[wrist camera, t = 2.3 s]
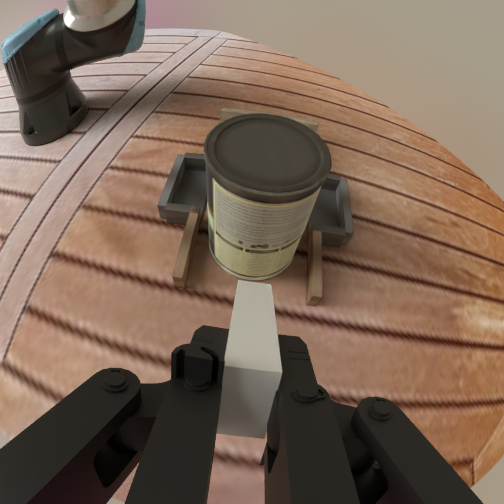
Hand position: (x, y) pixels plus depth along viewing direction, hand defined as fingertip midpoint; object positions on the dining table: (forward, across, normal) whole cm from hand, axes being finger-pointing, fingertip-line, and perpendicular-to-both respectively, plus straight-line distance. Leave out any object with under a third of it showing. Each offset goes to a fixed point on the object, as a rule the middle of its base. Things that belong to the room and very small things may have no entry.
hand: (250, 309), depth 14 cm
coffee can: (+22, 0, -2) cm, 22 cm away
